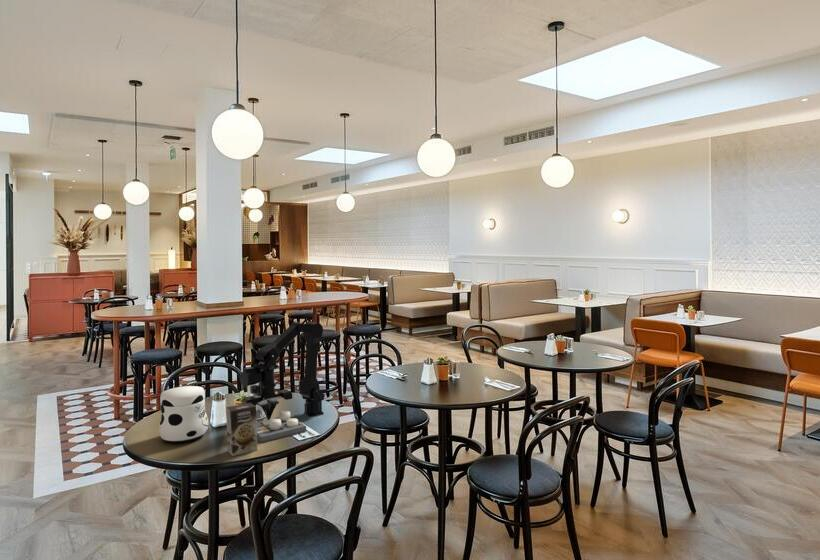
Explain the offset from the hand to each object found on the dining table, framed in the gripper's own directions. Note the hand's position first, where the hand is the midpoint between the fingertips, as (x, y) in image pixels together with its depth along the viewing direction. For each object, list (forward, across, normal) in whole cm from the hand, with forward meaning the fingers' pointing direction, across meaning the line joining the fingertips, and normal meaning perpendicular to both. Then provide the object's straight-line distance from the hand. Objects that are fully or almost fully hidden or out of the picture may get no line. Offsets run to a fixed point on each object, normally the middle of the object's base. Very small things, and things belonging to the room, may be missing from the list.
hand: (268, 419), depth 204 cm
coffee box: (+4, +16, +14) cm, 22 cm away
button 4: (+3, -7, +7) cm, 10 cm away
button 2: (+2, 0, +7) cm, 7 cm away
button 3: (+2, -7, 0) cm, 7 cm away
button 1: (+3, 0, 0) cm, 3 cm away
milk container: (+4, +29, -12) cm, 31 cm away
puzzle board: (+4, -1, +4) cm, 5 cm away
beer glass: (+4, -1, -16) cm, 17 cm away
